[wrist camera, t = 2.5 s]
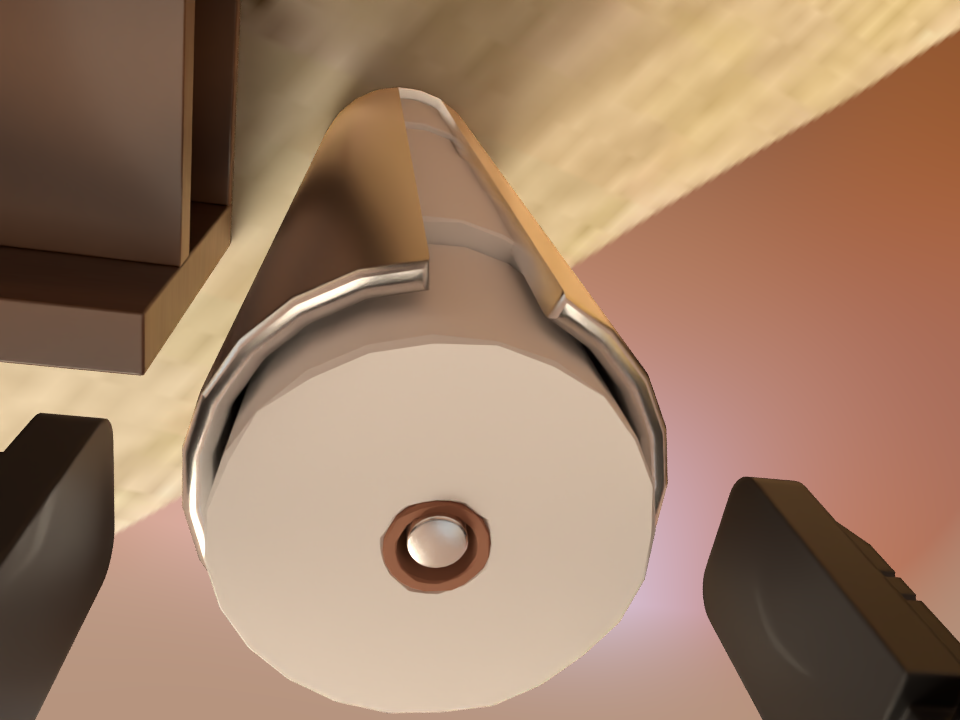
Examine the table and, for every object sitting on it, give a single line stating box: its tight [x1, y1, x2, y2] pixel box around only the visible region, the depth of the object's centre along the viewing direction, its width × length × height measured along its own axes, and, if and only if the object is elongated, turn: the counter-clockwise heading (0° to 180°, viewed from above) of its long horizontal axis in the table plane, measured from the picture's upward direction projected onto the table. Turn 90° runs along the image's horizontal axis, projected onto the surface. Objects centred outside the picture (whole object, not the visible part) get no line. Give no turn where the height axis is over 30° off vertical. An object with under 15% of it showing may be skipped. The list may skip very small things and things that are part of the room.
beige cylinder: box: [182, 87, 668, 713], centre depth 21 cm, size 6×6×25 cm
